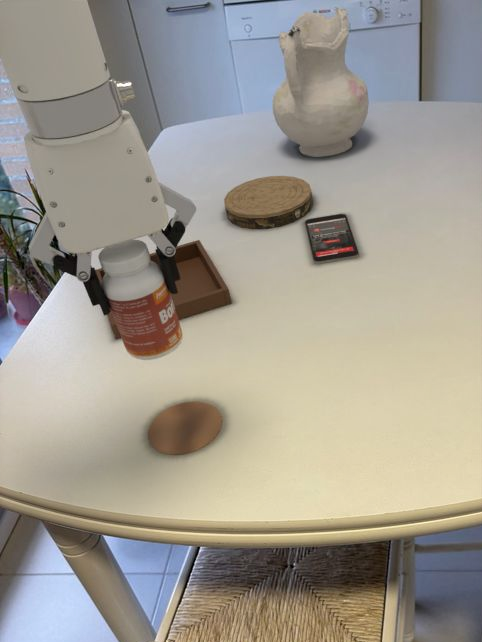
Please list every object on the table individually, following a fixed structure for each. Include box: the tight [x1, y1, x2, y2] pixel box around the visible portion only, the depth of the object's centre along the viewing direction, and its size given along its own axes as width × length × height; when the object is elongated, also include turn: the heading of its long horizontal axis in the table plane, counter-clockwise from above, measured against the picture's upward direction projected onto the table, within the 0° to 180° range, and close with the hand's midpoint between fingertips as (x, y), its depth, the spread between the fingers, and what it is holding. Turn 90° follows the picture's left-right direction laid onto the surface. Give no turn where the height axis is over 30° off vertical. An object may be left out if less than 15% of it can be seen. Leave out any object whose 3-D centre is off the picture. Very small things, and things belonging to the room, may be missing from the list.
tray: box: [95, 239, 233, 341], centre depth 100 cm, size 18×18×3 cm
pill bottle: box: [97, 239, 184, 361], centre depth 65 cm, size 6×6×11 cm
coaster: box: [147, 401, 223, 456], centre depth 78 cm, size 9×9×1 cm
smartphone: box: [304, 213, 360, 265], centre depth 107 cm, size 7×1×15 cm
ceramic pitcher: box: [272, 6, 370, 158], centre depth 128 cm, size 22×20×25 cm
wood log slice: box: [223, 175, 314, 230], centre depth 117 cm, size 16×16×3 cm
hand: (138, 296), depth 65 cm, fingers closed on pill bottle, 6 cm apart
